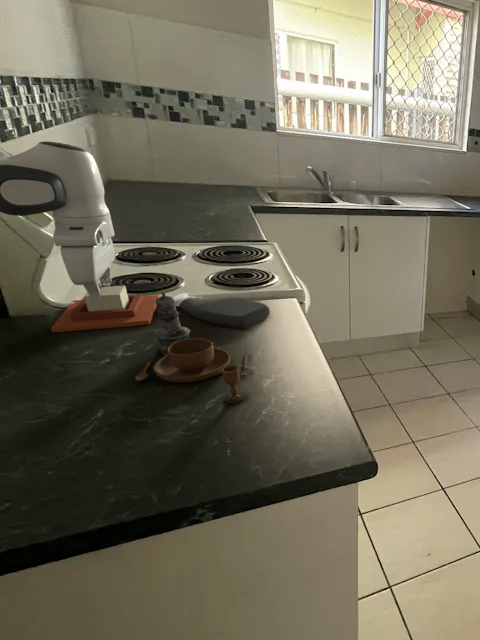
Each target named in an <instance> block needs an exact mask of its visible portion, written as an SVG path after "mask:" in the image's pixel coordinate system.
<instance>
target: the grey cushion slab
mask: <svg viewBox="0 0 480 640" xmlns="http://www.w3.org/2000/svg"><path fill="white" fill-rule="evenodd" d="M171 297H172V298H173V299H174V302H175V306H176V307H180V309H182V310H183V311H185V312H187V313H188V314H190V315H191V316H193V317H194V318H196V319H198V320H202V321H204V322H206V323H209V324H210V323H211V324H215V325H218V326H224V327H228V328H234V329H246V328H248V327H251V326H252V325H255V324H257V323H259V322H261V321H264V320H265V319H267V318H268V317H269V316H270V312H271V310H270V307H269V306H268V305H266V304H264V303H262V302H258V301H254V300H250V299H244V298H239V297H225V298H220V299H214V300H209V301H204V300H202V299H203V296H193V295H192V294H191V292H189V291H188V292H187V291H186V292H183V293H180V294H177V295H174V296H171Z"/></svg>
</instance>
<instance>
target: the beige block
mask: <svg viewBox="0 0 480 640" xmlns="http://www.w3.org/2000/svg"><path fill="white" fill-rule="evenodd" d="M126 287H127V286H126V285H112V286H111V285H108V286H99V289H100V290H101V292H102V298H101V299H100V300H91V299H90V297H89V293H88V292H87V291H86V293H85V295H84V297H83V298H85V301H86V304H87V308H88V311H89V312H92V311H107V310H121V309H127V308H128V306H129V305H130V303H129V299H128V295H129V294H128V292H127V291H128V290H127V288H126Z"/></svg>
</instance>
